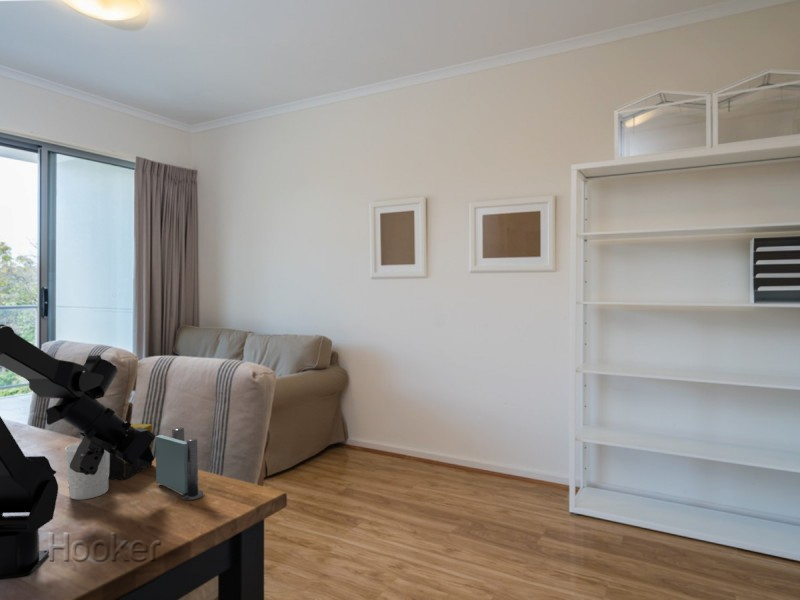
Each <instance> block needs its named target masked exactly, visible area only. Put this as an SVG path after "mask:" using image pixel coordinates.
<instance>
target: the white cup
mask: <svg viewBox="0 0 800 600" xmlns="http://www.w3.org/2000/svg"><path fill="white" fill-rule="evenodd" d="M80 443H81V441H79V442H74V443H71V444H69V445H67V446H66V447H65V448H64V452H65V466H66V467H65V468H66V477H67V484H68V489H69V497H70V499H73V500H81V501H82V500H88V499H94V498H96V497H100V496H102V495H104V494H106V493H107V492H108V490H109V479H108V477H109V467H110V453H108V452H107V451H106V450H104V454H103V456H102V459H101V461H100V464H99V466H98V470H97V472H96V473H95V474H94V475H90V474H88V475H85V474H84V473H78V472H75V471H73V470H72V469H70V463H71V461H72V459H73V457H74V455H75V452H76V450H77V448H78V446H79V444H80Z"/></svg>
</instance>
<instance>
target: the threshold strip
mask: <svg viewBox="0 0 800 600" xmlns="http://www.w3.org/2000/svg"><path fill="white" fill-rule="evenodd" d="M169 489H171V490H172V491H174V492H176V493H177V494H180V495H183V494H185V493H183V492H180V491H178V490H175V489H172V488H169Z"/></svg>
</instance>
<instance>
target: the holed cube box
mask: <svg viewBox="0 0 800 600" xmlns="http://www.w3.org/2000/svg"><path fill="white" fill-rule="evenodd" d="M131 424H132V425H131V426H130V427H133V428H138V427H142V428H144V429H147V430H149V431H150V432H151V433H153V425H152V424H149V423H148V424H147V423H146V424H145V423H131ZM149 447H150V450H151V452H152V453H153V451H152V443H151V444H150V445H149ZM152 465H153V462H152V463H148V462H146V461H143V460H141V459H137V460H136V462H135V463H133V464H132V465H130V464H128V463H126V462H124V461H123V460H121V459H119V458H117V457H116V455H112V454H110V467H109V477H108V479H110V480H114V479H118V480H117V481H125V480H127V479H129V478H131V477H133V476H134V474H135V475H137V474H139V473H140V472H141V470H142V471H144V470H146V469H147V468H149V467H151V466H152ZM143 469H144V470H143ZM138 472H139V473H138ZM132 475H133V476H132Z"/></svg>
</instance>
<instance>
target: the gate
mask: <svg viewBox="0 0 800 600" xmlns="http://www.w3.org/2000/svg"><path fill="white" fill-rule="evenodd" d="M154 440H155V479H156V480H155V482H156V484H158V485H159V484H160V485H161V486H163V487H166V486H167V487H166V488H168V487H169V488H168V489H170V488H172V489H175V490H178V491H180V492H183V493H187V492H188V490H187V441H185V440H184V441H181V440H178V439H174V438H172V437H170V436H166V435H162V434H159V435H155V439H154ZM172 489H171V490H172Z"/></svg>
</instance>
